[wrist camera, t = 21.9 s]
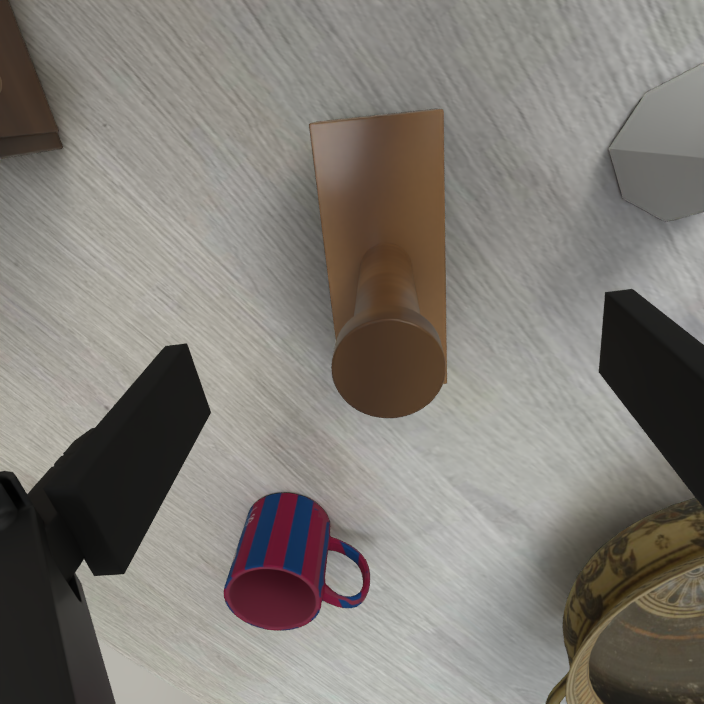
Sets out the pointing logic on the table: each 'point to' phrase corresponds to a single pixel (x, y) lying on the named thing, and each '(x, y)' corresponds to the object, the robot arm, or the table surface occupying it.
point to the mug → (286, 564)
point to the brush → (385, 256)
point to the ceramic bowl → (639, 615)
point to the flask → (664, 149)
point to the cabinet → (21, 96)
